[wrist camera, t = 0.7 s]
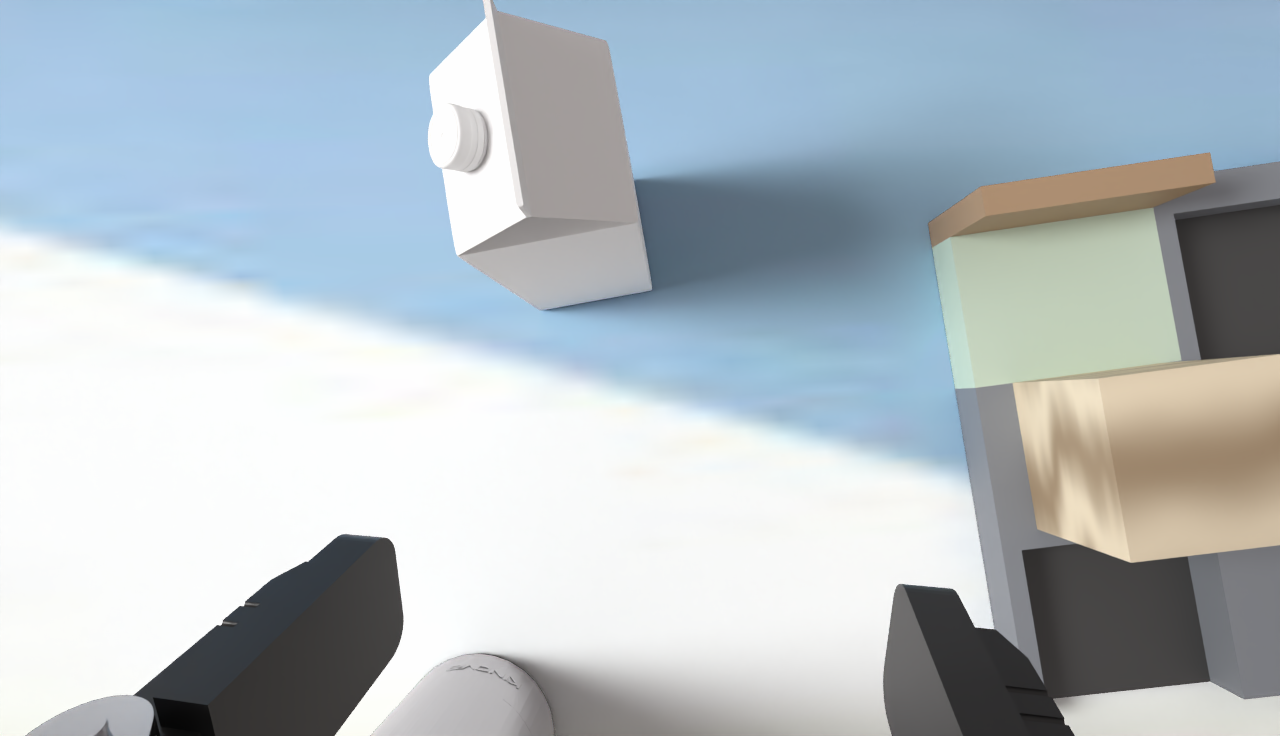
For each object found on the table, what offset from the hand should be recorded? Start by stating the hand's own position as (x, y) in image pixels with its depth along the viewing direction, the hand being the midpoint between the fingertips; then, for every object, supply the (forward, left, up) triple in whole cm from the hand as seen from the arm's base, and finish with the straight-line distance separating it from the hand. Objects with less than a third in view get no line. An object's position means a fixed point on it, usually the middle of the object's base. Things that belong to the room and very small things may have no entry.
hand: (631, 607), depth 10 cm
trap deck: (+7, -28, -28) cm, 40 cm away
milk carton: (+11, +7, -28) cm, 31 cm away
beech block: (+6, -23, -25) cm, 35 cm away
